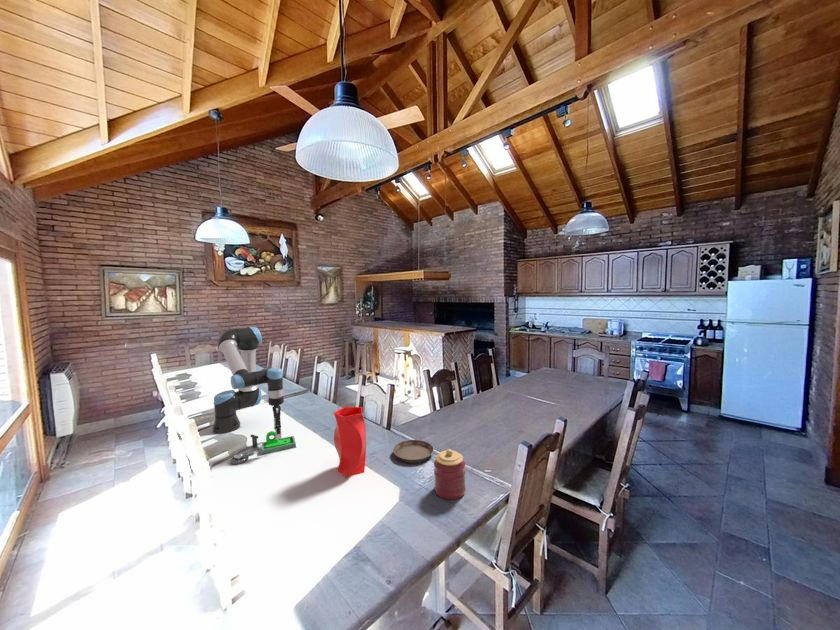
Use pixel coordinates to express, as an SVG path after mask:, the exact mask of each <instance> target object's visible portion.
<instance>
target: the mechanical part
mask: <svg viewBox="0 0 840 630" xmlns="http://www.w3.org/2000/svg"><path fill="white" fill-rule="evenodd" d="M271 436H273V438H270V437H271ZM265 442H266V449H268V448H273V447H277V446H282V445H287V444H290V438H289V439H283V440H276V432H275V430H272V431H271V430H270V431H269V432H267V433H266V436H265Z"/></svg>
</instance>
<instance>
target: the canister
mask: <svg viewBox="0 0 840 630" xmlns="http://www.w3.org/2000/svg"><path fill="white" fill-rule="evenodd" d="M433 465H434V470H433V473H434V490H435V493H436V495H438V496H439V497H440V498H442V499H444V500H456V499H460V498H462V497H463V496H464V495H465V493H466V491H467V490H466V489H467V487H466V486H467V485H466V469H465V467H466V461H465V460H464V456H463V455H462V454H461V453H460V452H458V451H456V450H453V449H450V448H447V449H446V450H442V451H441V452H439V453H438V454H436V456H435V459H434V461H433Z"/></svg>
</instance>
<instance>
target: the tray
mask: <svg viewBox="0 0 840 630" xmlns="http://www.w3.org/2000/svg"><path fill="white" fill-rule="evenodd" d="M289 438H290V444H287V445H282V446H277V447H273V448H268V449H266V441H263V442H261V453H262V455H263V456H264V455H268V454H272V453H277V452H280V451H286V450H290V449H295V448H297V442H296V438H295V435H292V436H291V435H290V436H285V437H281V439H279V440H283V439H289Z"/></svg>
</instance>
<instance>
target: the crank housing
mask: <svg viewBox="0 0 840 630" xmlns="http://www.w3.org/2000/svg"><path fill="white" fill-rule="evenodd" d="M248 460H249V455H246V456H244V457H243V458H242V459H239V460H235V459H234V456H233V457H231V458H230V459H229V464H230V466H231V465H233V466H237V465H241V464H243V463H246V462H247V461H248Z"/></svg>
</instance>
